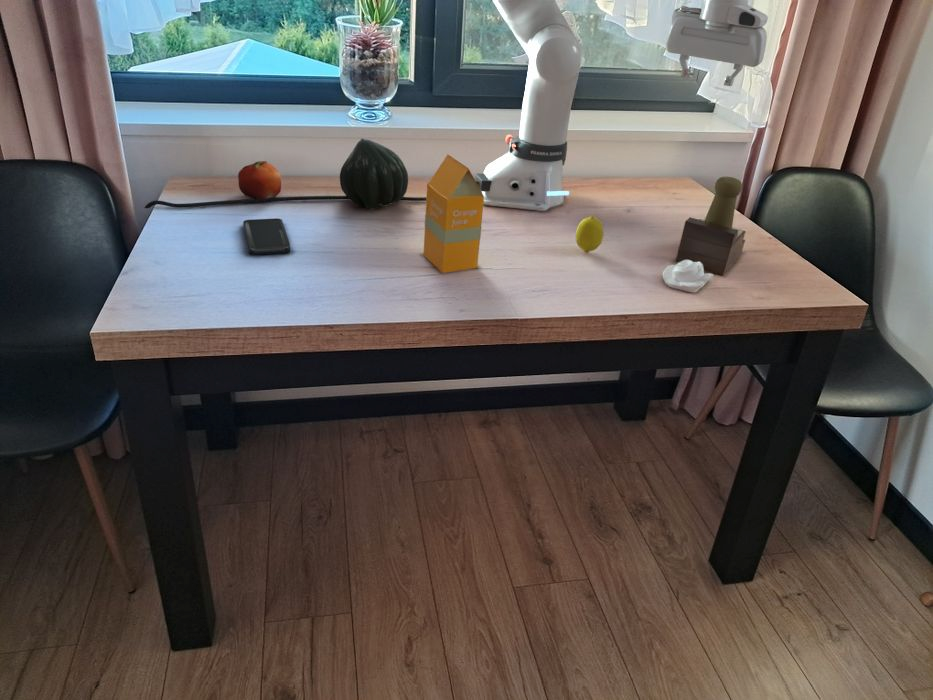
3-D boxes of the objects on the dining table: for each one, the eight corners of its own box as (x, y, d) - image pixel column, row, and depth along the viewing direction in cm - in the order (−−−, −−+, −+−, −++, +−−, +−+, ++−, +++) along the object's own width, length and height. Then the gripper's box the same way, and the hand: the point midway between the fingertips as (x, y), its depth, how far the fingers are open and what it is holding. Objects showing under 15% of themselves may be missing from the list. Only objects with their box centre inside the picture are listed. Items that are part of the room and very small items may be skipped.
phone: (248, 250, 139) (242, 219, 151) (249, 255, 140) (243, 224, 152) (291, 247, 142) (282, 218, 154) (291, 252, 142) (282, 223, 154)
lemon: (601, 250, 156) (608, 214, 151) (596, 260, 151) (603, 223, 147) (576, 245, 157) (582, 209, 153) (570, 254, 152) (576, 218, 148)
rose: (725, 274, 139) (675, 272, 138) (719, 295, 141) (670, 293, 140) (707, 252, 148) (660, 250, 147) (701, 272, 150) (655, 270, 149)
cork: (732, 237, 151) (747, 185, 145) (702, 232, 152) (716, 180, 146) (730, 226, 156) (744, 176, 150) (700, 222, 157) (714, 171, 151)
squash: (425, 189, 163) (402, 126, 163) (364, 201, 155) (340, 135, 156) (401, 213, 175) (379, 154, 176) (343, 225, 168) (321, 164, 168)
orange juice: (442, 273, 140) (449, 170, 130) (422, 254, 147) (427, 155, 136) (478, 267, 144) (488, 166, 133) (457, 249, 150) (465, 152, 140)
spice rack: (696, 240, 165) (706, 201, 160) (741, 252, 160) (753, 213, 156) (675, 261, 153) (685, 221, 149) (722, 275, 149) (734, 234, 145)
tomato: (290, 197, 167) (289, 162, 163) (260, 208, 161) (258, 172, 156) (261, 187, 171) (258, 153, 167) (230, 197, 165) (227, 162, 160)
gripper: (669, 5, 155) (655, 74, 162) (769, 20, 146) (749, 92, 153) (679, 3, 159) (664, 71, 166) (775, 17, 151) (756, 88, 158)
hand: (706, 81), depth 160 cm, fingers open, 8 cm apart
